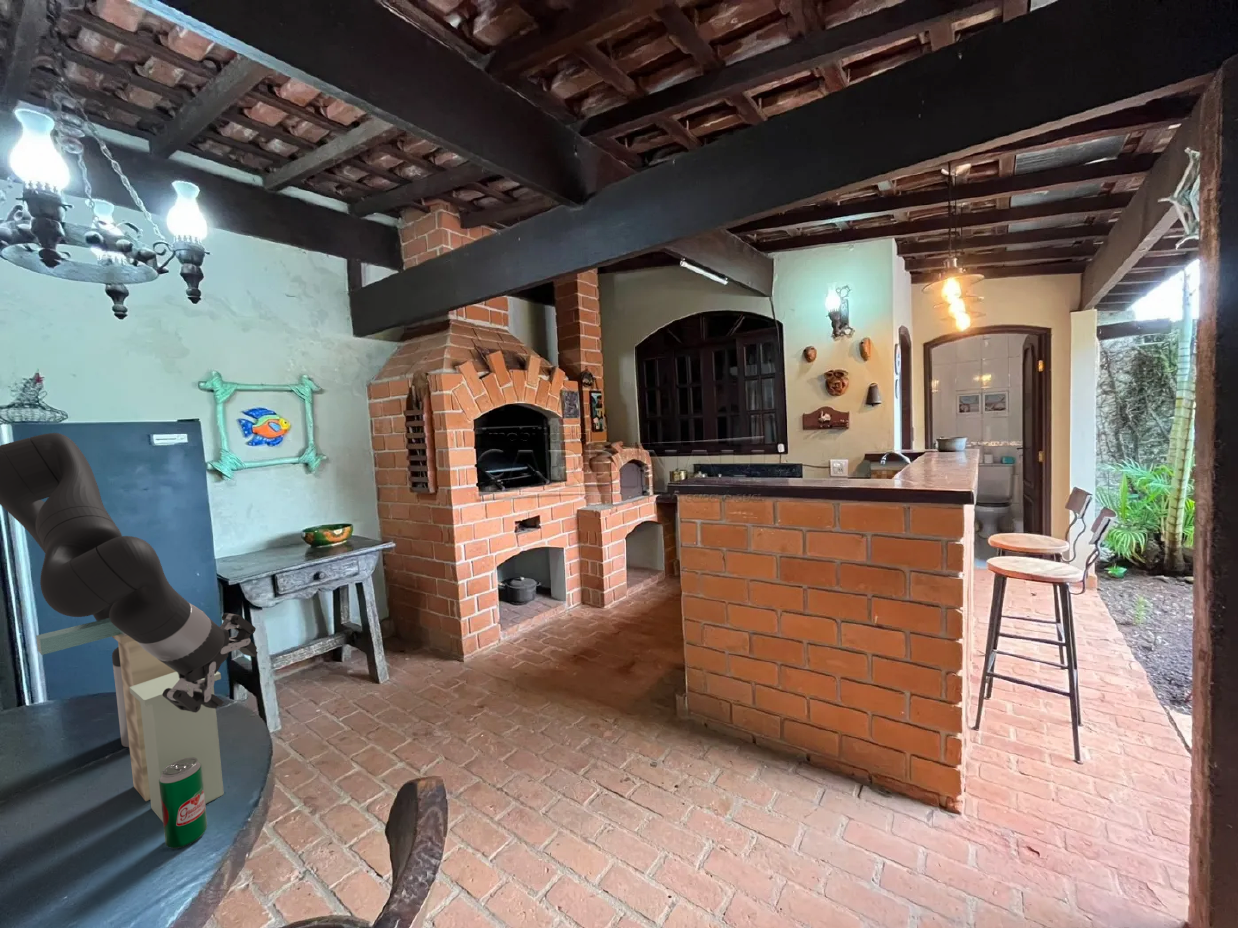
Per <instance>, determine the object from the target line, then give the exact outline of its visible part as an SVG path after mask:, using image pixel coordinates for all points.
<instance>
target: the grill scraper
mask: <svg viewBox="0 0 1238 928" xmlns="http://www.w3.org/2000/svg"><path fill="white" fill-rule="evenodd" d="M119 634H121V635H123V636H128V635H126V634H125V633H124V632H122V631H121V630H119V629H118V628H117V627H115V626H114V625H113V623H112V622H111V620H110V618H107V619H103V620H99V621H96V620H95V621H90V622H88V623H83V624H79V625H75V626H71V627H66V628H62V629H58V630H55V631H54V630H53V631H49V632H45V633H42V634H37V635H35V636H36V637H35V638H36V646H37V651H38V652H39V654H40V655H41V656H44V655H47V654H51V653H55V652H59V651H63V650H66V649H70V648H73V647H78V646H82V645H85V644H89V643H92V642H95V641H96V642H97V641H100V640H104V639H107V638H108V639H109V638H113V637H112V636H116V635H119Z"/></svg>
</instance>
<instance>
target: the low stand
mask: <svg viewBox="0 0 1238 928" xmlns="http://www.w3.org/2000/svg"><path fill="white" fill-rule="evenodd" d="M221 679H222V675H221V672H220V671H219V670H218V671H217V672H216V674H214V682H217V681H219V680H221ZM201 680H205V678H203V679H201ZM178 681H179V675H178V673H177V672H173V673H170V674H167V675H164V676H161V677H158V678H155V679H152V680H149V681H146V682H143V683H140V684H137V685H134V686H131V687H129V688H130V693H131V694H132V695H133V696H134V697H135V698H136V699H137V700H139V701H140V706H141V715H142V724H143V734H144V743H145V753H146V762H147V772H148V781H149V790H150V806H151V807H150V808H151V810H152V811H153V812H154V813H155V815H157V817H158V818H159V819H160V821H161V822H162V823H163V816H162V806H161V797H160V787H159V779H160V777H161V775H162V774H161V773H162V771H163V769H164V768H165V767H167V766H168V765H170V764H172V763H173V762H176V761H178V760H181V759H184V758H190V757H194V758H197V759H198V762H199V763H201V765H202V775H203V786H204V796H205V805H206V804H208V803H210V802H211V801H214V800H216V799H218V798H220V797H222V796H224V795H225V793H224V783H223V772H222V763H221V753H220V752H221V751H220V741H219V739H220V738H219V730H218V729H219V728H218V719H217V708H214V709H213V708H208V707H205V706H203V705H201V708H200V710H199V711H198V712H196V713H195V712H191V711H186V710H180V709H179V708H178V707H176V706H175V705H174V704H172V703H171V702H170V701H169V700H167V699H166V698H165V697H163V692H164V690H165V689H167V688H171V689H172V688H173V687H174V685H175V684H176V683H177V682H178ZM214 686H215V684H214V685H213V686H212V687H211V694H214V695H215V688H214ZM187 688H188V691H190V693H189V694H188V695H190V696H191V689H190V687H189V686H188V684H187ZM200 692H202V690H201V689H200Z"/></svg>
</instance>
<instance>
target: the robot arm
mask: <svg viewBox="0 0 1238 928" xmlns="http://www.w3.org/2000/svg"><path fill="white" fill-rule="evenodd" d="M44 499H46V500H45V501H43V500H44ZM0 505H1V507H2V508H3V509H5V511H6V512H8V513H9V514H10V515H11V516H12V517H13V518H14V519H15V520H16V521H17V522H18V523H19V524H20V525H21V526H22V527H23V528H24V529H25V530H26V531H27V532H28V533H29V534H30V536H31V537H32V538H33V540H34V541H35V542H36V543H37V545H38V546H39V547H40V548H41V550H42V551H43V552H44V560H43V564H42V569H41V572H40V579H39V580H40V582H39V583H40V590H41V594H42V596H43V598H44V600H45V602H46V603H47V604H48V606H49V607H50V608H52V609H53V610H54V611H55V612H57V613H59V614H60V615H63V616H67V617H72V618H82V617H83V618H85V617H90V616H93V617H94V620H95V621H99V620H103V619H107V618H110V620H111V622H112V623H113V625H114V626H115V627H117V628H118V629H119V630H121V631H122V632H124V633H125V634H126V635H128V636H129V637H131V638H132V639H134V640H135V641H136V642H138V643H139V645H140V646H141V647H142V648H143V649H144V650H145V651H147V652H148V653H150V654H151V655H153V656H154V657H155V658H157V659H158V660H160V661H161V662H163V663H164V664H166V665H167V666H168V667H170V668H171V669H173V670H174V671H176V672H177V673H178V675H179V681H178V682H177V683H176V684H175V685H174V687H173V688H172V689H171V688H167V689H165V690H164V692H163V697H165V698H166V699H167V700H169V701H170V702H171V703H172V704H174V705H175V706H176V707H178V708H179V709H180V710H186V711H191V712H195V713H196V712H198V711H199V710H200V708H201V705H203V706H205V707H208V708H213V709H214V708H216V709H217V708H218V707H221V708H222V706H223V705H224V703H225V701H224V700H222V699H221V698H219V697H218V696H217V695H215V693H214V694H211V687H212V686H213V685H214V686H215V681H214V674H216V672H217V671H218V672H219V670H220V668H221V666H222V664H223V663H224V662H225V661H226V660H227V659H228V657H229V656H230V655H229V653H230V652H233V651H237V650H239V652H241V653H242V654H243V655H245V656H249V657H254V658H255V657H256V656H257V655H258V651H257V650H258V649H257V648H258V647H257V646H256V644H254V643H253V642H252V641H251V638H250V637H251V635H253V634H254V633H255V632H256V627H255V626H254V625H253V624H252V623H250V622H249V621H248V620H246V619H245V618H244V617H243V616H242V615H240V614H234V613H229V612H225V613H223V614H222V616H221V621H223V622H222V623H221V624H220V626H219V625H218V624H217V623H216V622H214V621H213V620H212V619H211V618H209V616H208V615H207V614H206V612H205V611H203V610H201V609H200V608H199V607H197V606H195V605H194V604H192V603H191V602H189V601H187V600H186V599H185V598H184V597H183V596H182V595H181V594H179V592H177V590H175V589H174V587H173V586H172V585H171V584H170V582H169V581H168V579H167V577H166V575H165V573H164V572H165V571H164V569H163V565H162V564H161V560H160V559H159V556H158V554H157V552H156V551H155V549H154V547H153V546H152V545H151V544H149V542H147V541H146V540H144V539H142V538H139V537H136V536H131V535H123V534H122V532H121V530H120V528H119V527H118V526H117V524H116V523H115V522H114V520H113V519H112V517H111V516H110V514H109V513H108V511H107V509H106V508H105V506H104V503H103V500H102V496H101V493H100V489H99V486H98V482H97V481H96V478H95V474H94V472H93V469H92V467H91V466H90V464H89V461H88V459H87V458H86V457H85V454H84V453H83V452H82V451H81V449H80V448H79V446H78V445H77V443H75V442H74V441H73V440H72V439H71V438H70V437H68V436H66V435H65V434H62V433H58V432H50V433H43V434H39V435H35V436H34V435H33V436H30V437H26V438H23V439H18V440H14V441H11V442H7V443H3V444H1V445H0ZM230 629H232V630H233V629H234V630H235V631H237V632H238V633H237V635H235V636H230V632H229V630H230ZM112 651H113V652H112V654H111V658H112V659H111V661H112V669H113V678H114V684H115V687H114V688H115V695H116V704H117V715H118V723H119V733H120V742H121V746H123V747H125V748H129V738H128V729H127V720H126V711H125V702H124V692H123V683H122V674H121V665H120V656H119V646H118V647H116V648H115V649H114V650H112ZM203 678H205V680H201V679H203ZM187 684H188V686H189V687H190V689H191V696H190V695H188V694H189V693H190V691H188V688H187ZM200 689H201V690H202V692H200Z"/></svg>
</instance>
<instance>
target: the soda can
mask: <svg viewBox="0 0 1238 928" xmlns="http://www.w3.org/2000/svg"><path fill="white" fill-rule="evenodd" d="M161 774H162V775H161V777H160V779H159V787H160V797H161V806H162V816H163V822H162V823H163V825H162V826H163V832H164V833H163V834H164V843H165V846H166V847H168V848H170V849H174V850H176V849H177V850H178V849H183V848H185V847H187V846H190V845H191V844H193V843H195V842H196V841H198V840H199V839H200V838H201V837H202V836H203V835H204V834H205V832H206V831H207V828H208V819H207V818H208V817H207V809H206V807H207V806H206V804H205V796H204V786H203V775H202V765H201V763H199V762H198V759H197V758H194V757H190V758H184V759H181V760H178V761H176V762H173V763H172V764H170V765H168V766H167V767H165V768H164V769H163V771H162V773H161Z"/></svg>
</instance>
